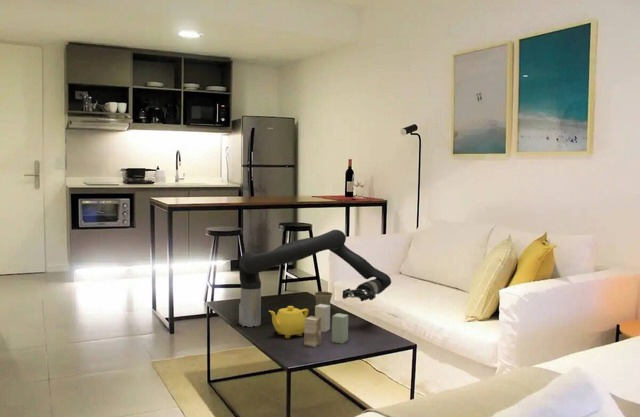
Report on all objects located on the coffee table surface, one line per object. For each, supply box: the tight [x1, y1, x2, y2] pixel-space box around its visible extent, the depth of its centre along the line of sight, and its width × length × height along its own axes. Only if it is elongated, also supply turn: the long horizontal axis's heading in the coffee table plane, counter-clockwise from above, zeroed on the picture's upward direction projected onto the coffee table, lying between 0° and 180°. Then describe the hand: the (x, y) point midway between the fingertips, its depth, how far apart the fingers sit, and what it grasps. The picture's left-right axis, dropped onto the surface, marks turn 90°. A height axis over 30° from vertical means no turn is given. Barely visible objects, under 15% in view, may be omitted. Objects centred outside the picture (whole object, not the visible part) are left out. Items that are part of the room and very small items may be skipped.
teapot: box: [268, 305, 309, 339], centre depth 243 cm, size 13×20×12 cm
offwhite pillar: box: [314, 304, 331, 333], centre depth 251 cm, size 5×5×11 cm
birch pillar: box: [303, 315, 322, 348], centre depth 230 cm, size 5×5×11 cm
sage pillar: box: [331, 312, 349, 344], centre depth 235 cm, size 5×5×11 cm
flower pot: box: [313, 291, 333, 306], centre depth 284 cm, size 9×9×9 cm
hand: (352, 297), depth 244 cm, fingers open, 8 cm apart
